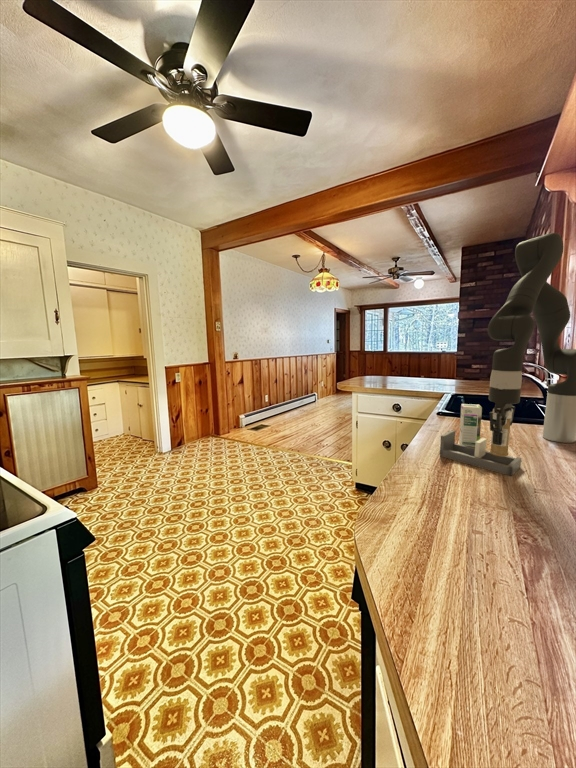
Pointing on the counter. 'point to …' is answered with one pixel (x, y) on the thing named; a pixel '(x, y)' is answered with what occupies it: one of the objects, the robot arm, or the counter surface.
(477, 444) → the pusher plate
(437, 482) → the counter surface
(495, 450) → the sprinkles bottle
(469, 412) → the syrup box
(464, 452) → the grey slide rail frame
